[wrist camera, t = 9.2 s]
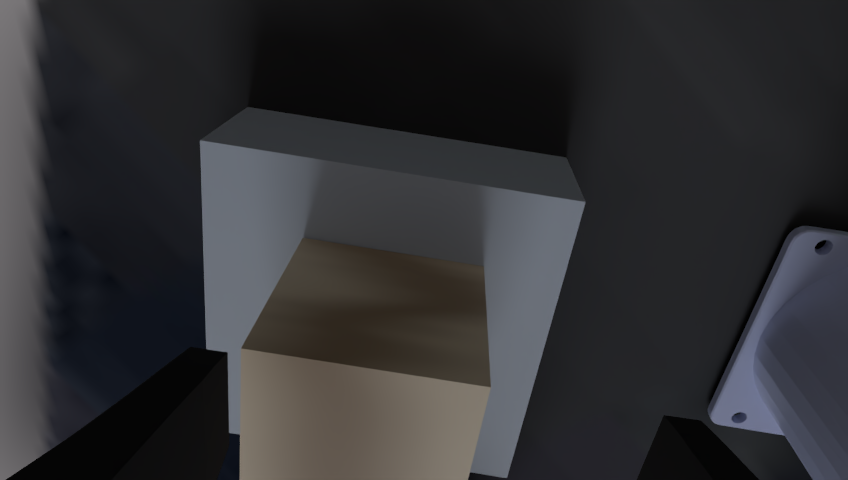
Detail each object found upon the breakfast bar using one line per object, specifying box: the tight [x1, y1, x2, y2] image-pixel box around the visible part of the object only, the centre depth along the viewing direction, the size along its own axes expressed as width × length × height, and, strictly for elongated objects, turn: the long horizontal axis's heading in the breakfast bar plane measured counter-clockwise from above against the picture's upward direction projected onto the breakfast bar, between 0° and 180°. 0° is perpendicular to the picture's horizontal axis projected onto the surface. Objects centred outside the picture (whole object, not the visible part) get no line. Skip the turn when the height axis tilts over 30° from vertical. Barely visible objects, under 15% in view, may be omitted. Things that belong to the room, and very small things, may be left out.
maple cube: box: [240, 238, 491, 480], centre depth 15 cm, size 5×5×5 cm
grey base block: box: [200, 107, 585, 478], centre depth 19 cm, size 10×10×4 cm
